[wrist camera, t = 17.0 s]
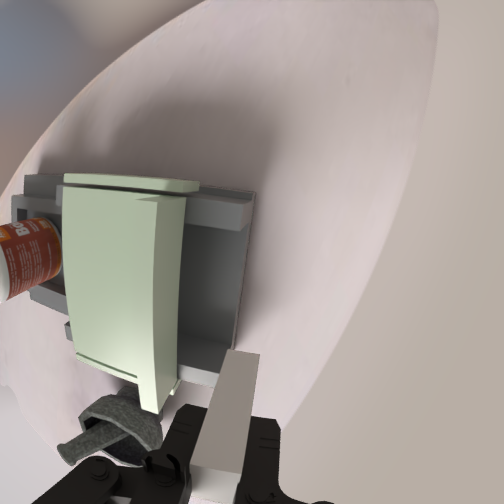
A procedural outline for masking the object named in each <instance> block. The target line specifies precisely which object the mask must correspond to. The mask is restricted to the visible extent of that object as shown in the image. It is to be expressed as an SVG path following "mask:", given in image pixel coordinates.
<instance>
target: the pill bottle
mask: <svg viewBox="0 0 504 504" xmlns="http://www.w3.org/2000/svg"><path fill="white" fill-rule="evenodd" d="M62 265H63V254H62V238H61V235H60V233H59V231H58V229H57V228H56V226H55V225H54V223H53V222H52V221H50V220H49V219H47V218H45V217H37V218H32V219H27V220H23V221H18V222H14V223H10V224H5V225H2V226H0V303H2V302H5V301H7V300H8V299H10V298H12V297H14V296H16V295H18V294H20V293H22V292H24V291H26V290H28V289H30V288H32V287H34V286H36V285H38V284H40V283H43V282H45V281H47V280H49V279H51V278H53V277H55V276H56V275H57V274H58V273H59V272H60V270H61V268H62Z"/></svg>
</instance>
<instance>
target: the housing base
mask: <svg viewBox="0 0 504 504" xmlns="http://www.w3.org/2000/svg"><path fill="white" fill-rule="evenodd" d="M66 186H76V187H90V188H102V189H113V190H124V191H134V192H144V193H153V194H162V195H171V196H179V197H186V206H185V216H184V226H183V237H182V249H181V263H180V278H179V297H178V322H177V379H180V380H184V381H188V382H191V383H195V384H199V385H204V386H208V387H212V388H215V386H216V383H217V380H218V377H219V374H220V371H221V368H222V365H223V362H224V359H225V356H226V353H227V350H228V349H231V350H234V343H235V335H236V328H237V321H238V314H239V307H240V300H241V293H242V286H243V279H244V272H245V265H246V258H247V251H248V244H249V237H250V230H251V223H252V216H253V209H254V202H255V196H256V192H249V191H242V190H235V189H228V188H220V187H212V186H204V185H199V191H193V192H183V193H181V192H172V191H163V190H154V189H144V188H133V187H122V186H110V185H98V184H83V183H67V182H64V175H55V174H32V175H25V177H24V194H20V195H13V196H12V202H11V215H12V223H14V222H18V221H23V220H27V219H32V218H37V217H45V218H47V219H49V220H50V221H52V222H53V223H54V225H55V226H56V228H57V229H58V231H59V233H60V235H61V238H62V201H63V187H66ZM62 254H63V249H62ZM27 291H29V292H30V298H31V300H34V301H36V302H38V303H40V304H42V305H45V306H47V307H49V308H51V309H54V310H56V311H58V312H61V313H63V314H66V315H68V316H69V314H68V307H67V299H66V290H65V280H64V267H63V265H62V268H61V270H60V272H59V273H58V274H57V275H56V276H55V277H53V278H51V279H49V280H47V281H45V282H43V283H40V284H38V285H36V286H34V287H32V288H30V289H28V290H27ZM64 326H65V331H66V336H67V339H68V340H70V341H73V338H72V332H71V326H70V321H68V322H67V323H66V324H64Z"/></svg>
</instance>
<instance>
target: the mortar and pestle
mask: <svg viewBox="0 0 504 504" xmlns="http://www.w3.org/2000/svg"><path fill="white" fill-rule="evenodd" d="M162 412H163V409H161V410H160V412H159V414H155V413H152V412H149V411H147V410H144V409H141V402H140V395H139V389H137V388H131V387H124V388H123V389H122V390H120V391H119V392H118V393H117V395H112V394H110V395H107V396H103V397H101V398H99V399H98V400H97V401H95V402H94V403H93V404H91V405H90V406H89V407H88V408H86V409H85V410H84V411H83V412H82V413H81V415H80V416H79V417H78V418H79V422H80V425H81V428H82V430H83V433H82V434H80V435H79V436H77V437H75V438H74V439H72V440H71V441H69V442H67V443H66V444H59V445H58V446H57V450H58V452H59V454H60V456H61V457H62V458H63V460H64V461H65V462H66V463H67V464H68V465H70V466H73V465H75V464H76V462H77V461H78V460H80V459H82V458H84V457H86V456H89V455H91V454H93V453H95V452H97V451H99V450H100V451H102V452H103V453H105V454H107V455H108V456H110V457H111V458H113V459H115V460H116V461H118V462H120V463H121V464H124V465H128V466H131V467H143V465H142V462H141V458H142V457H143V455H144V454H145V453H147V452H149V451H151V450H156V449H160V448H161V446H162V443H163V433H162V427H161V424H160V422H161V420H162Z"/></svg>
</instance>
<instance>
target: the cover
mask: <svg viewBox="0 0 504 504" xmlns="http://www.w3.org/2000/svg"><path fill="white" fill-rule="evenodd" d="M64 182H67V183H83V184H98V185H110V186H122V187H133V188H144V189H154V190H163V191H172V192H181V193H183V192H193V191H199V185H200V181H191V180H181V179H171V178H160V177H149V176H136V175H121V174H104V173H64ZM185 206H186V197H179V196H171V195H162V194H153V193H144V192H134V191H124V190H113V189H102V188H90V187H76V186H66V187H63V201H62V249H63V267H64V280H65V290H66V299H67V307H68V314H69V320H70V326H71V332H72V338H73V343H74V348H75V351H76V352H77V353H76V357H77V360H79V361H81V362H83V363H86V364H88V365H90V366H93V367H95V368H97V369H100V370H102V371H105V372H107V373H109V374H112V375H115V376H117V377H120V378H122V379H125V380H128V381H131V382H133V383H136V384H138V388H139V395H140V402H141V409H144V410H147V411H149V412H152V413H155V414H159V412H160V410H161V409H162V407H163V405H164V403H165V401H166V399H167V398H168V396H169V394H170V395H174V394H175V392H176V390H177V388H178V386H179V384H180V382H181V380H180V379H177V322H178V297H179V278H180V263H181V249H182V237H183V226H184V216H185Z"/></svg>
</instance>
